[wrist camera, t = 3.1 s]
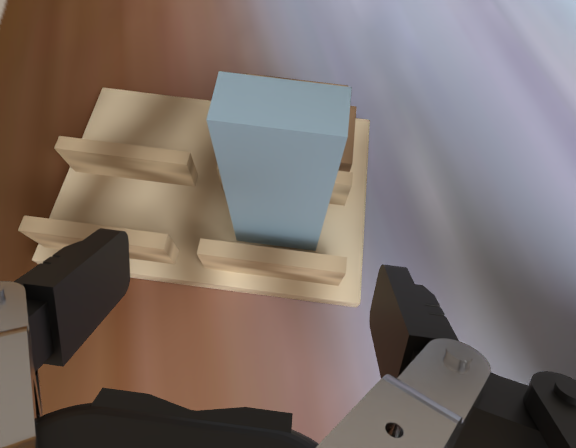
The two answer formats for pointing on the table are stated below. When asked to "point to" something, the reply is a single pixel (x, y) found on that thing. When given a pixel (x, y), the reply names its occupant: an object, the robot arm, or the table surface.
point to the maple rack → (192, 205)
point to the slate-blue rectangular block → (278, 154)
